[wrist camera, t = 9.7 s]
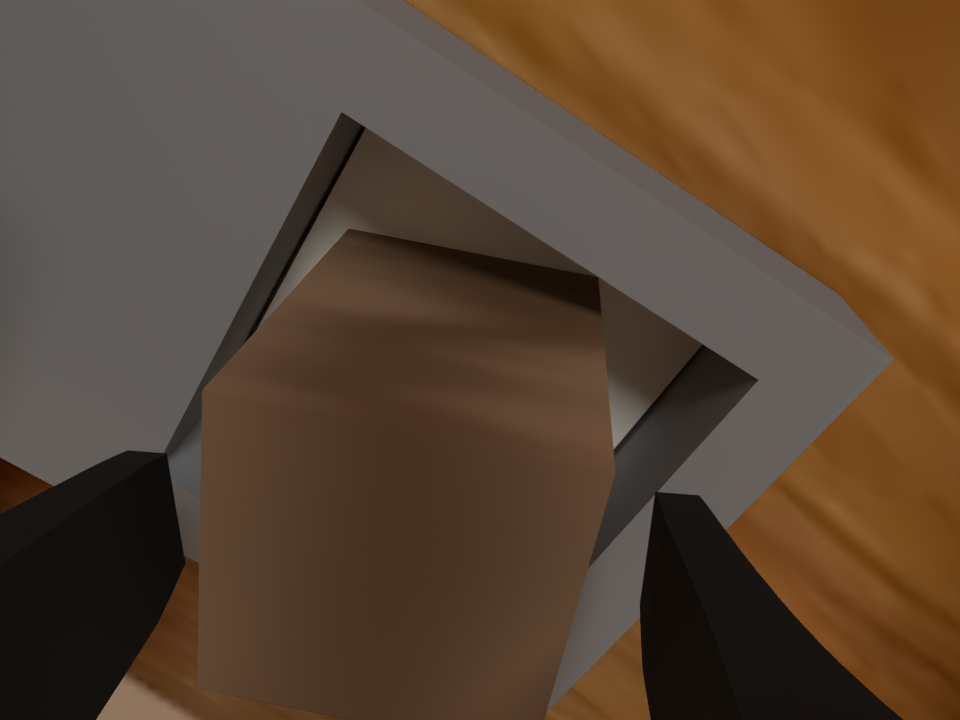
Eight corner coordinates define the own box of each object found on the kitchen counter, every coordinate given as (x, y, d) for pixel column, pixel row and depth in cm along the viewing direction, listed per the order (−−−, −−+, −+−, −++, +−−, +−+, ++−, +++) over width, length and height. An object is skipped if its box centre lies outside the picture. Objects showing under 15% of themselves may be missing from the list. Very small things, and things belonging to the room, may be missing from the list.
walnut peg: (598, 277, 16) (614, 472, 10) (546, 485, 18) (533, 757, 12) (349, 228, 16) (202, 389, 10) (327, 441, 18) (196, 688, 12)
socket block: (838, 295, 16) (1194, 711, 7) (529, 635, 20) (495, 1158, 11) (5, -267, 13) (-1202, -799, 4) (-137, 265, 18) (-867, 557, 9)
